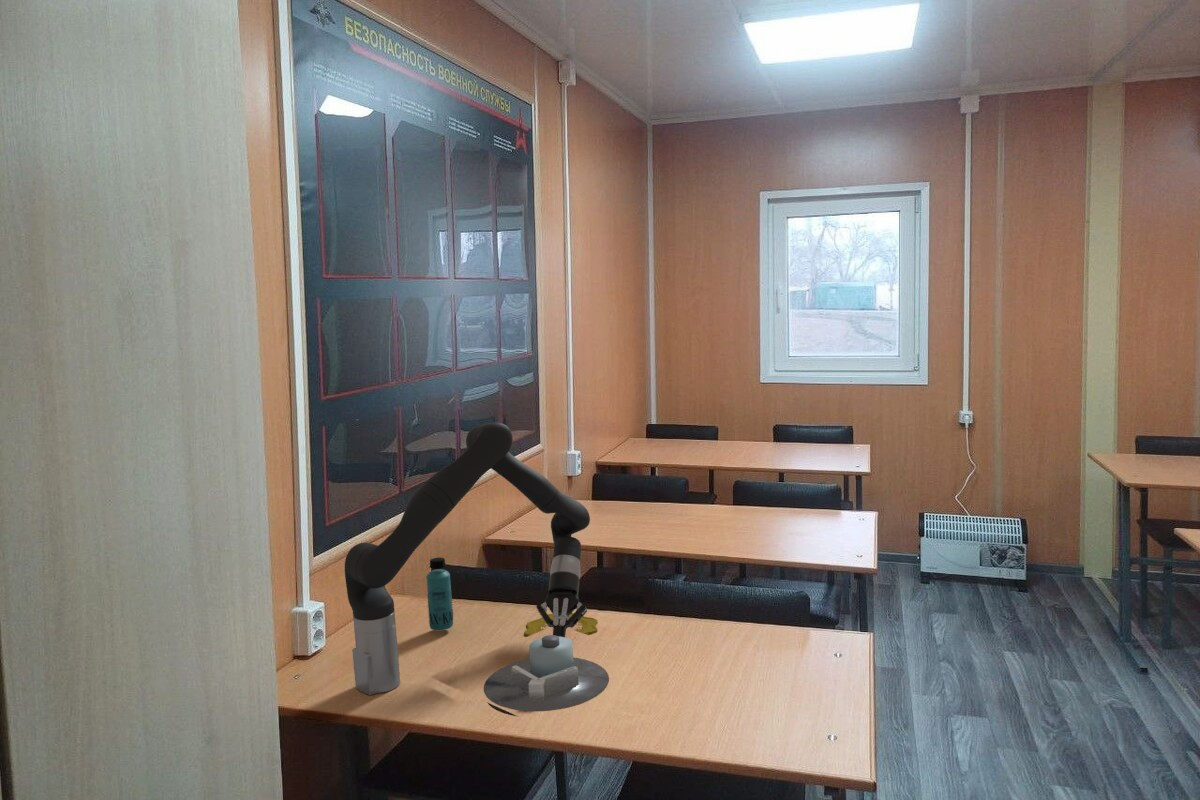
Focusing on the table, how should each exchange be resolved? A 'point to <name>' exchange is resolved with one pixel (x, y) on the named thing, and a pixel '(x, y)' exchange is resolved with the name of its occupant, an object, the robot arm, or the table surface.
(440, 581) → the beverage bottle
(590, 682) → the turntable
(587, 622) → the decorative medallion
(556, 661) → the cover
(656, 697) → the table surface
